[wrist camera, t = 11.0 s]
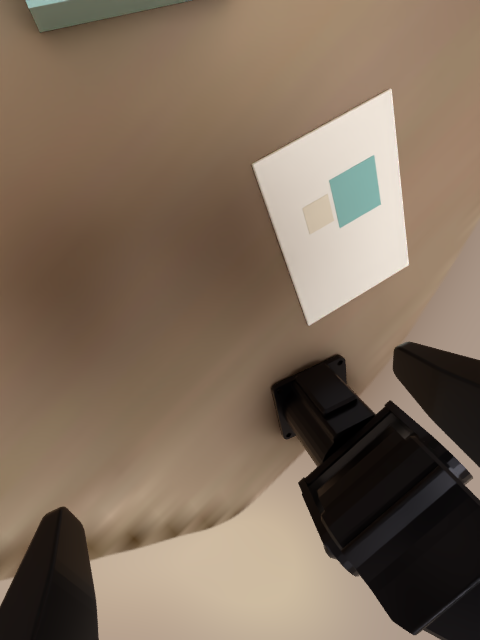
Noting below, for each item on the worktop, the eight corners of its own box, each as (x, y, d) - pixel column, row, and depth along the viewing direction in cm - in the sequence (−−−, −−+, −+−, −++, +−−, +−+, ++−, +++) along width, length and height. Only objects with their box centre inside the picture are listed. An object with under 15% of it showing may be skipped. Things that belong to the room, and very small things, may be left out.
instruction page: (406, 264, 27) (409, 265, 27) (307, 324, 26) (309, 326, 26) (389, 88, 20) (392, 88, 20) (251, 164, 19) (253, 164, 19)
